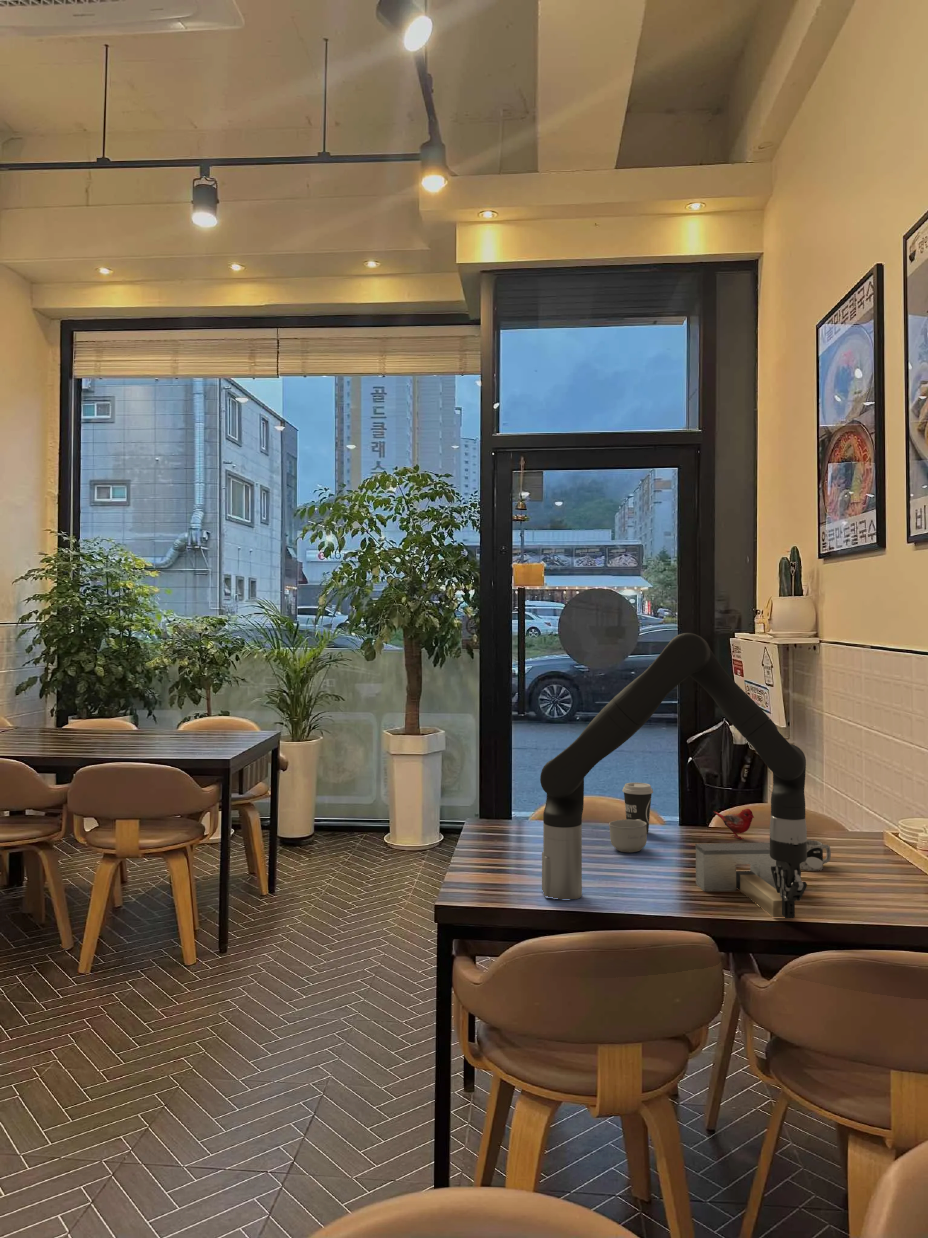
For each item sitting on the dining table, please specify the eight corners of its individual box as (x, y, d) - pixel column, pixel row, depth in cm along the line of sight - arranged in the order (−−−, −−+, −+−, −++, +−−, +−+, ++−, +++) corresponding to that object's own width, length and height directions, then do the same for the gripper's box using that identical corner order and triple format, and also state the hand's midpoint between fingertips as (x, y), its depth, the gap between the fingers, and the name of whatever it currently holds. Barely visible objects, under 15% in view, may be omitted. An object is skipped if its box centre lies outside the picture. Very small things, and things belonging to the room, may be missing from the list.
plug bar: (773, 918, 180) (773, 900, 180) (735, 887, 201) (735, 871, 202) (790, 918, 180) (790, 900, 180) (751, 887, 202) (751, 871, 202)
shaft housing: (704, 891, 198) (704, 850, 198) (695, 883, 204) (695, 843, 204) (792, 890, 199) (792, 849, 199) (781, 882, 205) (780, 842, 205)
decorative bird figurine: (750, 844, 242) (750, 811, 242) (709, 831, 258) (709, 799, 258) (758, 843, 243) (757, 810, 243) (717, 830, 259) (716, 798, 259)
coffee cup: (630, 827, 263) (629, 781, 263) (658, 831, 257) (657, 784, 257) (617, 833, 255) (617, 785, 255) (645, 837, 249) (645, 789, 249)
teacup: (631, 857, 228) (631, 828, 228) (601, 849, 236) (601, 822, 236) (660, 848, 237) (660, 821, 237) (630, 841, 245) (630, 814, 245)
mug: (807, 872, 214) (807, 846, 214) (790, 865, 221) (790, 840, 221) (839, 869, 217) (838, 844, 217) (821, 862, 223) (821, 838, 223)
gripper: (758, 830, 183) (759, 907, 183) (784, 845, 170) (784, 928, 170) (791, 829, 183) (791, 906, 183) (819, 845, 170) (819, 928, 170)
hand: (788, 917), depth 176 cm, fingers closed
